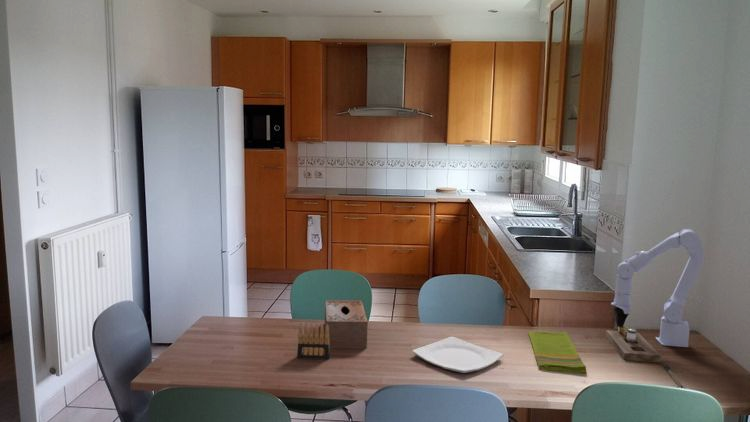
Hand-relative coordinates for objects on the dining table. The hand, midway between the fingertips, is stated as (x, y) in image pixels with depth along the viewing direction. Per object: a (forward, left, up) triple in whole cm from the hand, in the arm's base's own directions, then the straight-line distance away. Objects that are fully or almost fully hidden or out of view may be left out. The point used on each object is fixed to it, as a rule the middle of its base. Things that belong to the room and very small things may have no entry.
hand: (619, 326), depth 227 cm
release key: (0, +8, -1) cm, 8 cm away
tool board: (0, +15, -3) cm, 16 cm away
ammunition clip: (+112, +49, -4) cm, 122 cm away
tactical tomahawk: (-7, +41, -4) cm, 42 cm away
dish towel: (+29, +26, -4) cm, 39 cm away
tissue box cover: (+106, +26, -4) cm, 109 cm away
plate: (+64, +39, -4) cm, 75 cm away
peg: (0, +14, -3) cm, 15 cm away
